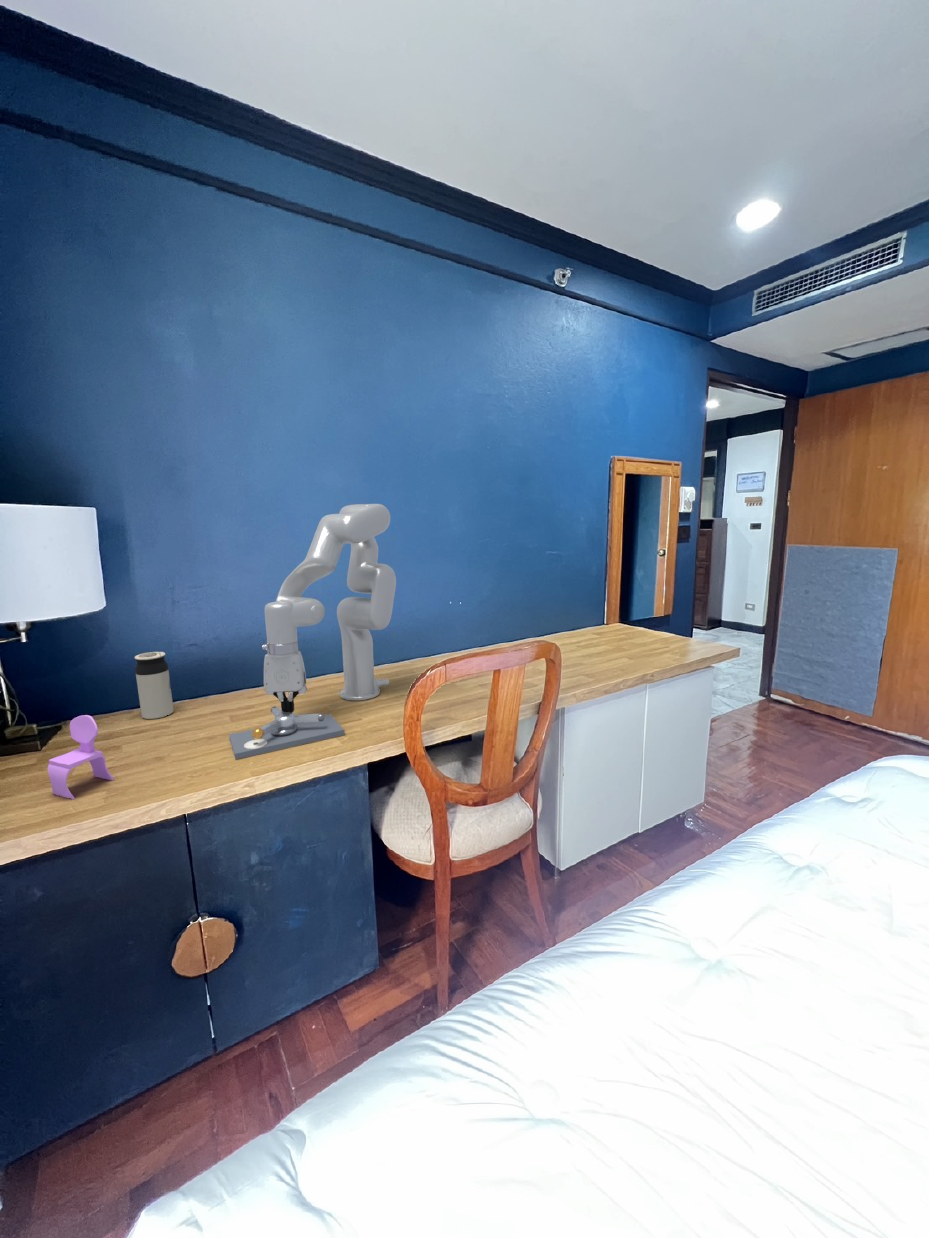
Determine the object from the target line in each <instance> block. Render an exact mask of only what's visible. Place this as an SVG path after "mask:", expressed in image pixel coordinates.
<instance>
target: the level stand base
mask: <svg viewBox="0 0 929 1238" xmlns="http://www.w3.org/2000/svg"><path fill="white" fill-rule="evenodd" d="M323 715H324V716H325V719H324V720H323V721H319V722H307V723H296V725H297V730H296V731H295V732H294V733H292V734H289V735H284V736H275V735H272V734H271V732H270V733H268V734H266V735H264V736H263V737H262V738H260V739H255V738H254V737H253V736H252V733H253V731H254V730H255V729H256V728H253V729H249V730H244V731H240V732H234V733H233V732H232V733H229V734H228V737H229V739H228V740H229V743H230V746H231V750H232V753H233V755H234V756H233V757H234V759H235V760H240V759H245V758H250V757H254V756H258V755H259V756H260V755H263V754H264V755H265V754H268V753H273V752H276V751H281V750H285V749H290V748H294V747H298V746H302V745H303V746H304V745H308V744H312V743H316V742H319V741H321V742H322V741H325V740H329V739H333V738H339V737H342V736H345V729H344V727H342V725H341V724H340V722H338V721H337V720H336V719H335V717H334V716H333V715H332V714H331V713H328V714H323Z"/></svg>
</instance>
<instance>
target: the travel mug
mask: <svg viewBox="0 0 929 1238" xmlns="http://www.w3.org/2000/svg"><path fill="white" fill-rule="evenodd" d="M165 656H166V653H165V652H164V651H152V652H151V651H150V652H144V653H140V654H137V655H135V656H134V659H135V660H136V665H135V667H134V670H135V671H134V673H135V677H136V684H137V692H138V693H137V694H138V700H139V706H140V713H141V718H142V719H146V720H156V719H162V718H165V717H168V716H170V715H171V714H173V712H174V711H175V710H174V704H173V703H174V702H173V696H172V694H173V693H172V689H171V680H170V672H169V664H168V661H166V660H165ZM167 715H168V716H167Z"/></svg>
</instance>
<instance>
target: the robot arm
mask: <svg viewBox="0 0 929 1238" xmlns="http://www.w3.org/2000/svg"><path fill="white" fill-rule="evenodd" d="M390 524H391V513H390V511H389V509H388V508H387V507H386V506H385V505H383V504H381V503H360V504H359V503H358V504H357V503H356V504H348V505H345V506H343V507H342V508H341V509H340V510H339V513H332V514H326V515H324V516H323V517H322V518H321V519H320V520H319V522H318V525H317V528H316V530H315V533H314V535H313V538H312V541H311V544H310V546H309V549H308V551H307V554H306V556H305V558H304V559H303V561H301V562H300V563H299V564H298V565H297V566H296V567H295V568H294V569H293V570H292V571H291V573H290V574H289V575H288V576H287V577H286V578H285V579H284V581H283V582H282V584H281V586H280V589H279V591H278V593H277V597H276V599H275V601H272V602H268V603H266V604H265V606H264V620H265V621H264V622H265V631H266V643H265V644H262V646H261V648H262V650H265V651H266V652H267V653H266V654H265V655H264V660H263V689H264V690H265V694H266V695H270V696H274V697H275V698H277V700H278V701H279V702H280V705H281V706H280V709H281V710H282V711H283V712H293V713H294V711H295V698H296V697H298V695H303V694H305V693H307V691H308V687H307V686H306V685H307V675H306V669H305V663H304V659H303V655H302V652H301V650H299V644H298V630H297V628H298V627H311V626H315V625H318V624H319V623H320V622H321V621H322V620H324V617H325V613H326V611H325V606H324V605H323V603H322V602H321V601H319V600H318V599H316V598H312V597H302V595H303V594H304V592H305V591H306V590H307V588H308V587H309V586H311V585H312V584H314V583H315V582H316V581H318V580H321V579H323V578H325V577H327V576H329V575H331V574H332V573H334V571H335V569H336V567H337V564H338V562H339V558H340V555H341V554H342V550H343V548H344V546H345V545H346V544H347V545H348V544H350V557H349V564H348V569H347V575H346V576H347V578H346V585H347V588H348V589H349V591H351V592H353V593H357V594H368V595H371V596H370V597H362V596H350V597H349V596H348V597H345V598H344V599H343V598H342V599H341V600H340V602H339V603H338V605H337V608H336V618H337V621H338V625H339V630H340V636H341V648H342V649H341V651H342V664H343V665H342V666H343V682H344V688H343V689H341V690H340V691H339V696H340V698H342V699H343V700H345V701H346V700H347V701H354V702H355V701H365V700H371V699H374V698H376V697H377V696H379V695H380V693H381V689H380V688H381V687H383V686H384V687H385V686H389V685H390V679H388V678H387V679H383V678H378V679H377V678H375V665H374V664H375V663H374V660H375V659H374V642H373V636H372V634H371V632H370V630H373V631H381V630H384V629H386V628H387V627H388V625H389V624H390V623H391V619H392V614H393V607H394V600H395V597H396V596H395V594H396V587H397V577H396V574H395V570H394V569H393V568H392V567H391V566H389V564H385V563H378V559H379V558H378V557H379V545H378V543H377V540H376V538H375V537H376V536H378V535H380V534H383V533H384V532H385V531H386V530H388V528H389V526H390ZM286 693H288V694H286Z"/></svg>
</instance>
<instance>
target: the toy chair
mask: <svg viewBox="0 0 929 1238" xmlns="http://www.w3.org/2000/svg"><path fill="white" fill-rule="evenodd" d="M69 732H70V737H71V738H72V739H73V740H74V741H76V742H77V743H79V746H80V747H78V748H76V749H74V750H72V751H69V752H66V753H64V754H61V755H59V756H55V757H53V758H50V759H48V764H47V772H48V773H47V774H48V777H49V780H50V785H51V789H52V794H53V795H55V794H56V796H59V795H60V796H59V797H63V798H66V799H69V798H71V799H70V800H75V799H76V798H75V797H74V795H73V794H72V792H71V791H70V789H69V787H68V785H67V784H68V783H67V780H68V776H69V774H70V772H71V771H72V770H73V769H74V768H76V767H78V766H80V765H82V764H84V763H86V762H88V763H89V764H90V766H91V769H92V775H93V777H95V778H101V779H105V780H107V781H108V780H109V781H111V782H112V781H115V778H114V777H113V776H112V775H111V773H110V772H109V769H108V767H107V764H106V757H105V756H104V755H103V751H101V750H96V749H95V739H96V737H98V734H99V728H98V725H97V722H96V721H95V719H94V718H93V716H91V715H88V714H85V715H83V714H82V715H79V716H77V717H74V718H72V720H71V721H70V723H69Z"/></svg>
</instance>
